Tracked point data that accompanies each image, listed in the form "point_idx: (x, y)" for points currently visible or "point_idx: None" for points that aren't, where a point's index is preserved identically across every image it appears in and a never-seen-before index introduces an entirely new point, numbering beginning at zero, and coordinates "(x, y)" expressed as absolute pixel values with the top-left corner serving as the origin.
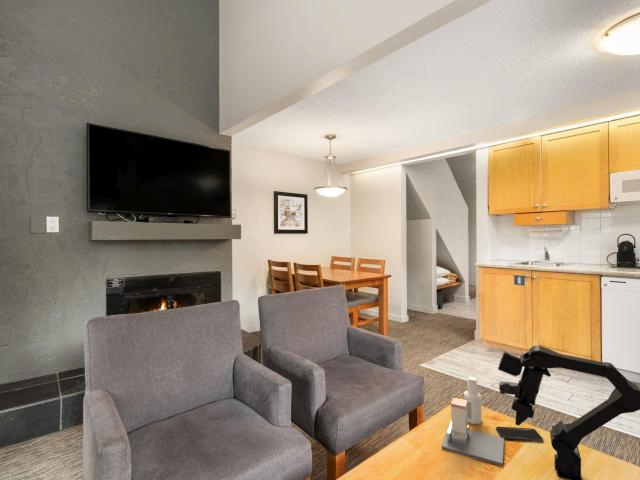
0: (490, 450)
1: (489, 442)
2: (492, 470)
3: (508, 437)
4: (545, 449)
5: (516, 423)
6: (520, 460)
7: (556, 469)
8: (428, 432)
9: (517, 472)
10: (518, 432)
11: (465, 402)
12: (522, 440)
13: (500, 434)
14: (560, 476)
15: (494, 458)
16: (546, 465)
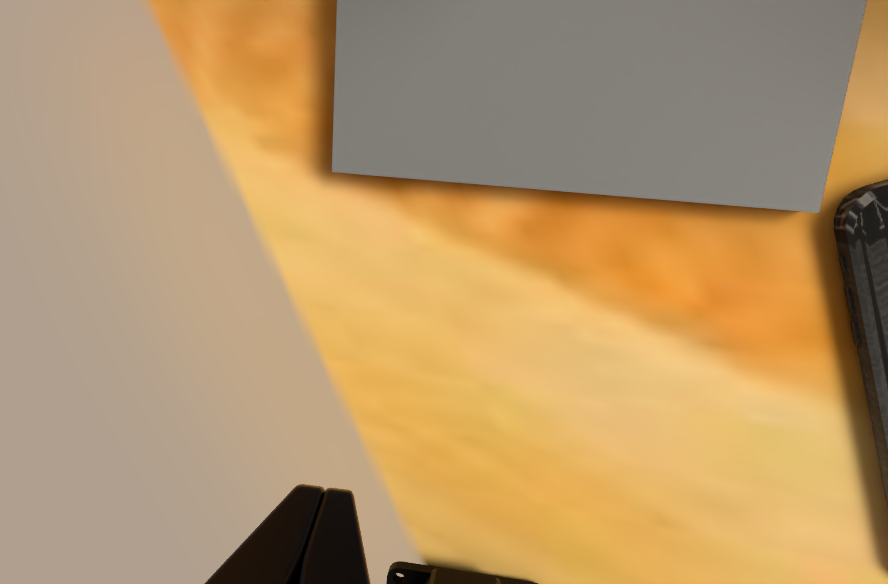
0: (504, 58)
1: (666, 46)
2: (240, 81)
3: (874, 262)
4: (767, 561)
5: (280, 516)
6: (498, 330)
7: (428, 581)
8: None
9: (311, 285)
10: None
11: None
12: (870, 394)
13: None
14: (388, 578)
15: (377, 98)
16: (510, 515)
